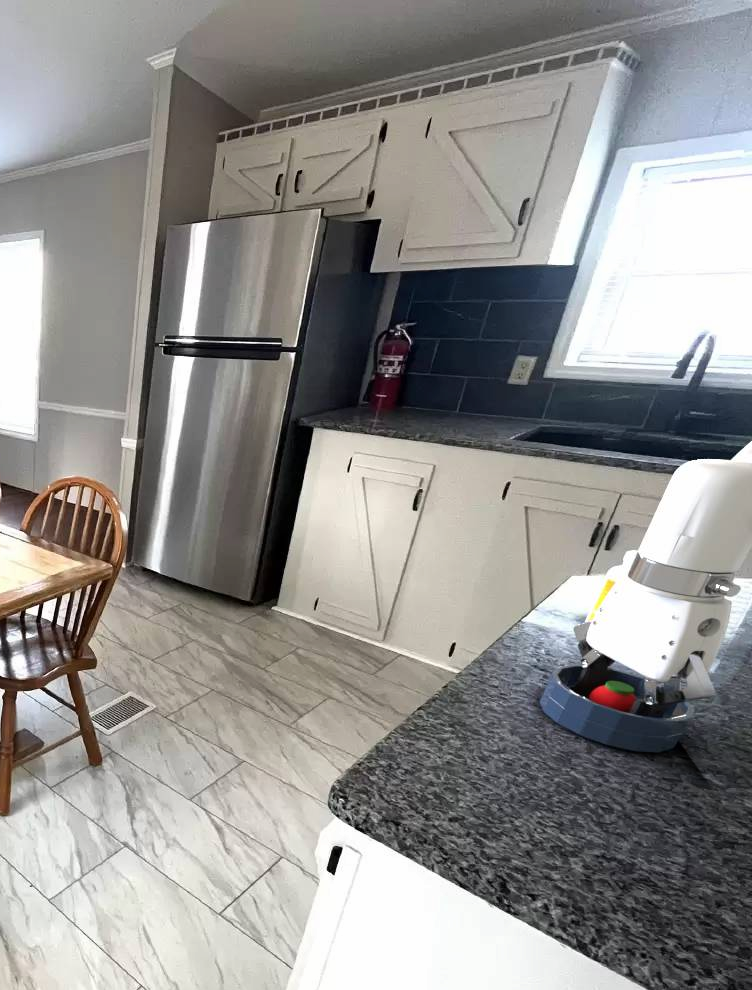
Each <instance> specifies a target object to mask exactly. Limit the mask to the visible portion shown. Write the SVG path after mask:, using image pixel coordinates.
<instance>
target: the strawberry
mask: <svg viewBox="0 0 752 990" xmlns="http://www.w3.org/2000/svg"><path fill="white" fill-rule="evenodd" d="M633 692H634V688H633V687H631V686H629V685H627V684H625V683H622V682H618V681H607V682H606V684H605V685H603V686H600V687H598V688H596V689H594V690H593V691H592V692H591V694H590V696H589V700H591V701H593V702H595V703H597V704H600V705H603V706H606V707H609V708H612V709H615V710H619V711H622V712H626V713H629V712H630V710H631V708H632V706H633V704H634V702H635V701H636V698H635V696H634V694H633Z"/></svg>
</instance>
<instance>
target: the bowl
mask: <svg viewBox="0 0 752 990" xmlns="http://www.w3.org/2000/svg"><path fill="white" fill-rule="evenodd" d="M583 668H584V667H582V666H581V665H580V664H576V663H575V664H574V663H572V664H566V665H560V666H557V667H556V668H555V669H554V671H553V672H552V673H551V676H550V678H549V680H548V682H547V684H546V686H545V688H544V691H543V693H542V695H541V698H540V700H539V705H540V706H541V709H542V711H543V713H544V714H545V715H547V716H548V717H549V718H550V719H551V720H553V721H554V722H555V723H556V724H558V725H559V726H562V727H563V728H566V729H568V730H569V731H571V732H573V733H575V734H577V735H580V736H582V737H584V738H586V739H589V740H591V741H594V742H597V743H601V744H604V745H607V746H610V747H615V748H619V749H624V750H628V751H632V752H645V753H662V752H665V751H669V750H670V751H671V750H674V748H675V747H676V745H677V743H678V742H679V740H680V739H681V736H682V735H683V733H684V731H685V730H686V728H687V726H688V725H689V723H690V721H691V720H692V718H693V715H694V713H695V708H694V707H693V705H692V704H691V703H690V701H688V702H682V703H678V704H670V705H669V706H668V708H667V710H666V712H665V714H664V715H663V717H662V718H653V717H645V716H640V715H636V714H631V713H626V712H622V711H619V710H615V709H612V708H609V707H606V706H603V705H600V704H597V703H595V702H593V701H591V700H589V697H587V698H585V697H582V696H580V695H578V694H576V693H575V692H573V690H574V688H575V686H576V683H577V681H578V679H579V677H580V675H581V673H582V670H583ZM612 669H613V673H612V676H611V678H610V680H609V681H618V682H622V683H625V684H627V685H629V686H631V687H633V688H634V692H633V694H634V696H635V698H636V700H638V699H644V676H642V675H641V676H640V675H638V674H633V673H630V672H627V671H624V670H620V669H615V668H612ZM661 692H664V684H662V683H660V693H661Z"/></svg>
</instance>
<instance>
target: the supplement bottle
mask: <svg viewBox="0 0 752 990" xmlns="http://www.w3.org/2000/svg"><path fill="white" fill-rule="evenodd" d="M638 550H639V549H633V550H628V551H626V553H625V555H624V557H623V558H622V559H623V563H622V565H621V564H620V565H616V566H613V567H611V568H610V569H608V571H607V573H606V575H605V577H604V579H603V582H602V583H601V586H600V588H599V590H598V593H597V595H596V597H595V599H594V601H593V603H592V605H591V607H590V609H589V612H588V614H587V616H586V619H585V621H584V623H585V622H588V621H591V620H593V618H594V616H595V614H596V612H597V611H598V609H599V607H600V605H601V604H602V602H603V600H604V599H605V597H606V596H607V594H608V593H609V591H610V590H611V589H612V587H613V586H614V585H615V583H616V582H617V581H618V580H619V578H620V577H621V576H622V575H623V574H625V573H628V572H629V569H630V567H631V565H632V563H633V561H634V559H635V556H636V554H637V552H638Z"/></svg>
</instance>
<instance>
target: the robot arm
mask: <svg viewBox="0 0 752 990" xmlns="http://www.w3.org/2000/svg"><path fill="white" fill-rule="evenodd" d="M751 549H752V440H751V441H750V442H749V443H748V444H746V445H745V446H744V447H743V448H742V449H741V450H740V451H738V452H737V453H736V455H734V456H733V457H732V458H731V459H711V458H710V459H709V458H707V459H705V458H704V459H697V460H695V459H694V460H691V461H688V462H685V463H683V464H682V465H680V466H679V467H678V468H677V469H676V470H675V471H674V473H673V474H672V476H671V479H670V480H669V483H668V484H667V487H666V489H665V491H664V493H663V496H662V498H661V500H660V501H659V504H658V506H657V509H656V510H655V513H654V514H653V517H652V520H651V522H650V523H649V526H648V528H647V531H646V532H645V534H644V537H643V538H642V541H641V543H640V546H639V548H638V549H637V550H638V552H637V554H636V556H635V559H634V561H633V563H632V565H631V567H630V569H629V572H628V573H625V574H623V575H622V576H621V577H620V578H619V580H618V581H617V582H616V583H615V585H614V586H613V587H612V589H611V590H610V591H609V593H608V594H607V596H606V597H605V599H604V600H603V602H602V604H601V605H600V607H599V609H598V611H597V612H596V614H595V616H594V618H593V620H591V621H588V622H585V621H584V622H582V623H580V624H577V625H575V626H574V627H573V632H574V635H575V637H576V641H577V642H578V643H577V647H578V650H579V653H580V656H581V658H580V659H579V665H581V666H582V667H584V668H583V670H582V673H581V675H580V677H579V679H578V681H577V683H576V686H575V688H574V690H573V692H575V693H576V694H578V695H580V696H582V697H585V698H587V697H589V696H590V694H591V692H592V691H593V690H594V689H596V688H598V687H600V686H603V685H605V684H606V682H607V681H609V680H610V678H611V676H612V673H613V669H614V668H611V666H612V665H613V664H614V663H615V662H617V663H618V664H620V665H622V666H623V667H625V668H627V669H630V670H631V671H633V672H634V673H636V674H639V675H641V676H642V677H644V699H638V700H636V701H635V702H634V704H633V706H632V708H631V710H630V712H629V713H631V714H636V715H640V716H645V717H653V718H662V717H663V715H664V714H665V712H666V710H667V708H668V706H669V705H670V704H678V703H682V702H692V701H697V700H702V699H709V698H710V699H711V698H713V697H715V696H716V690H715V688H714V686H713V683H712V681H711V678H710V676H709V672H710V670H711V669H712V667H713V664H714V663H715V660H716V658H717V656H718V654H719V651H720V649H721V646H722V644H723V641H724V639H725V636H726V633H727V630H728V627H729V623H730V617H731V613H732V606H733V605H732V603H733V602H732V601H731V600H730V599H727V598H726V597H728V598H733V597H735V596H737V595H738V594H739V593H740V592H741V589H742V588H741V586H740V585H739V584H735V583H734V580H735V578H736V577H737V574H738V573H739V570H740V569H741V567H742V566H743V563H744V561H745V560H746V557H747V556H748V554H749V552H750V550H751ZM725 596H726V597H725ZM681 679H684V680H685V683H686V687H684V688H681V684H682V683H681ZM660 684H663V686H664V692H661V693H660Z"/></svg>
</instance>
